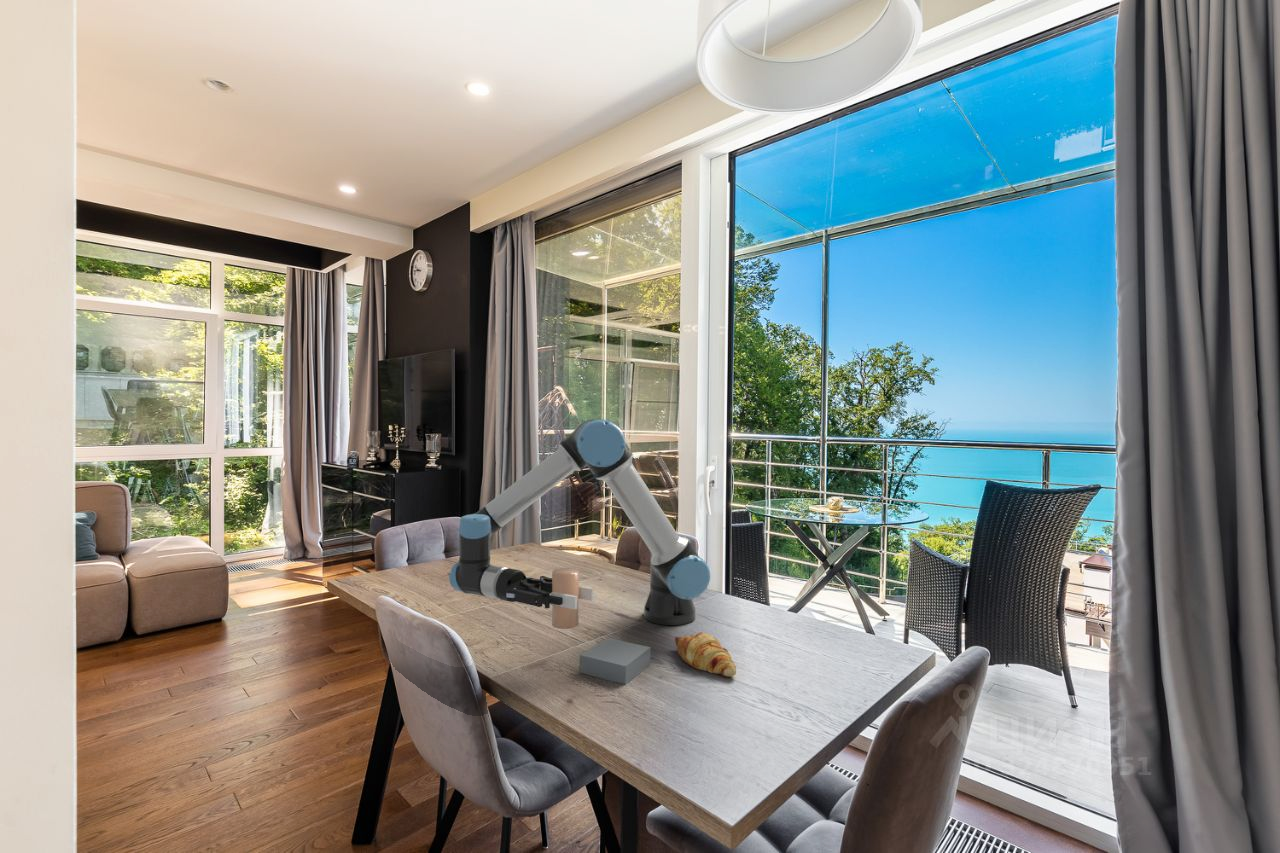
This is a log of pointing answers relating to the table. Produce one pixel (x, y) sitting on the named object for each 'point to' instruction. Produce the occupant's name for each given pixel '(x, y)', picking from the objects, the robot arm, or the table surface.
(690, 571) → the robot arm
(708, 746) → the table surface
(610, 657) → the pedestal
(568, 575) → the canister
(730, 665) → the croissant
